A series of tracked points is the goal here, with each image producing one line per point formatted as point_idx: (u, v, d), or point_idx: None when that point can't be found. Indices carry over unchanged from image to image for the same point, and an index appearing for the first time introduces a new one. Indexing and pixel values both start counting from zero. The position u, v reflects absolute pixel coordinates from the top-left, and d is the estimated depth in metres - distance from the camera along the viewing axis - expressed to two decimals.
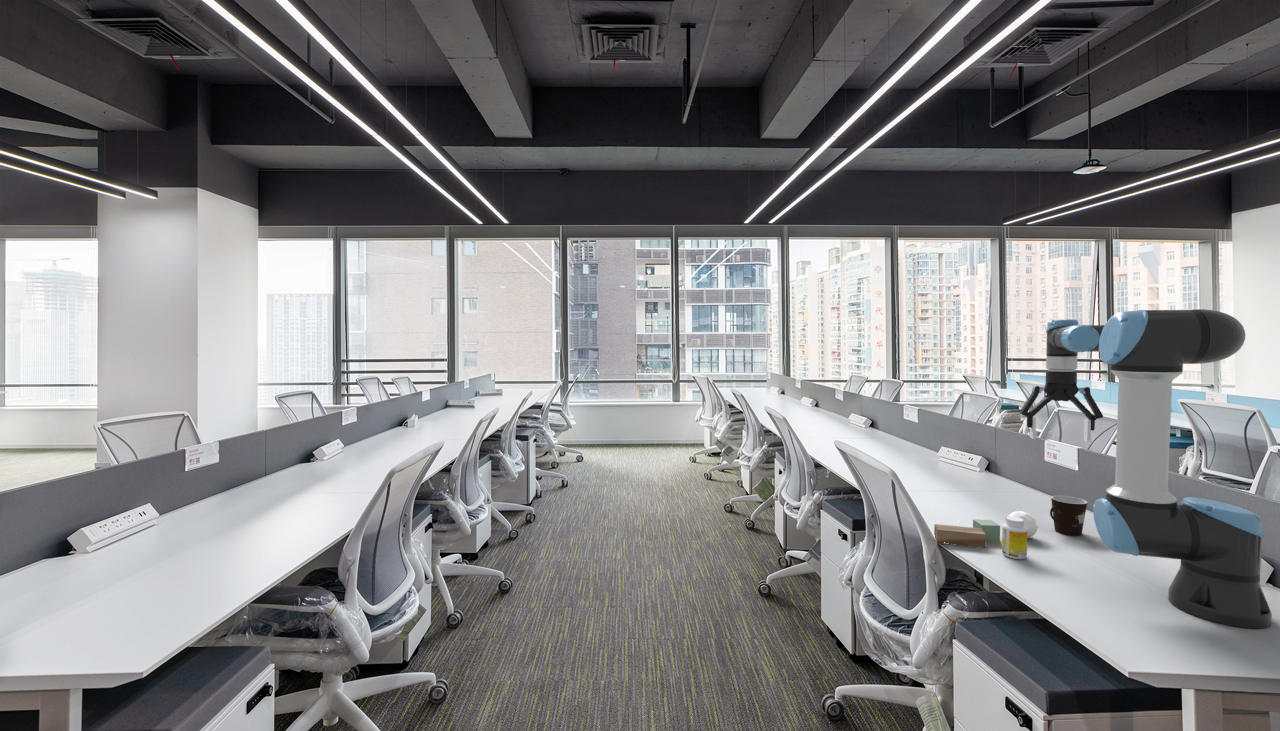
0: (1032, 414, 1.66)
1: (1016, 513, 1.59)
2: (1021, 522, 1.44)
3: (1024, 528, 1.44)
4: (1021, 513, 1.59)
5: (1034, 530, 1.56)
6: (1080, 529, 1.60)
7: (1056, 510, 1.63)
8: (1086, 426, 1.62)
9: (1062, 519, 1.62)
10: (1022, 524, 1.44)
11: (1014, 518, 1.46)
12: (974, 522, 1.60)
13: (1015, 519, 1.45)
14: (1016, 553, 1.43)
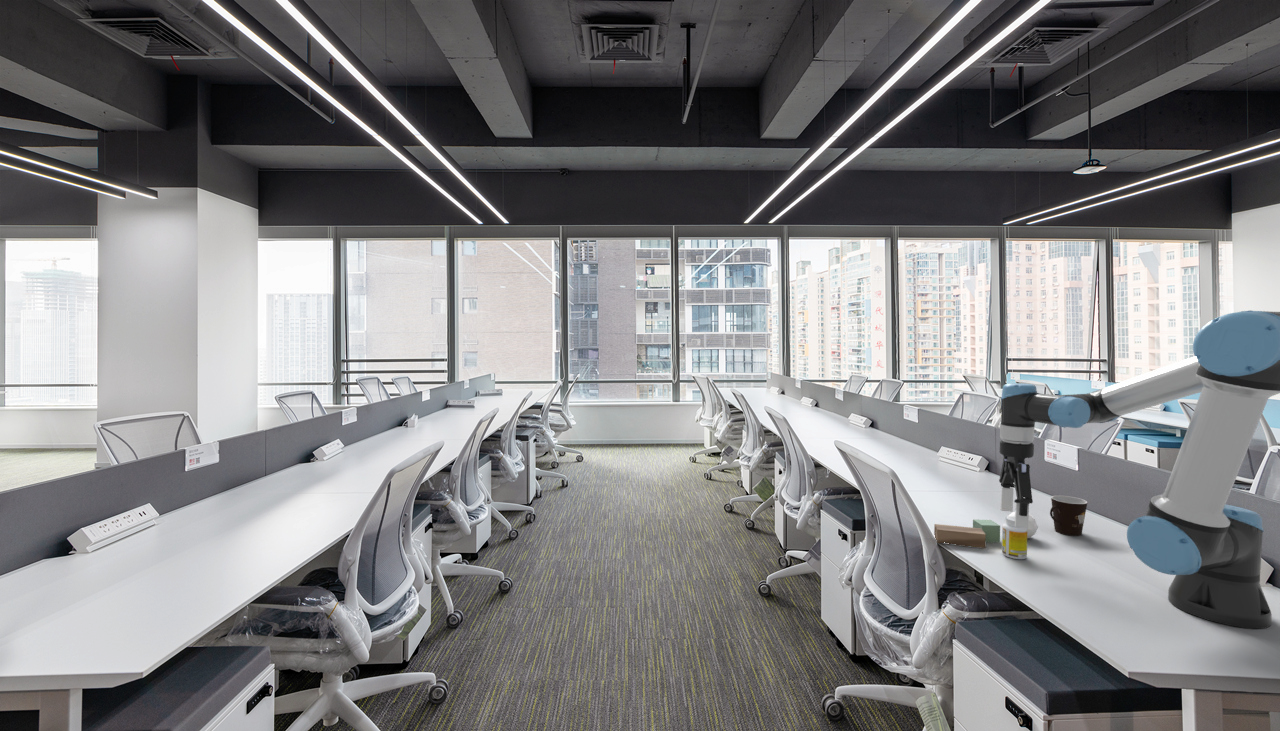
0: (1001, 483, 1.53)
1: None
2: None
3: (1024, 528, 1.44)
4: None
5: (1034, 530, 1.56)
6: (1080, 529, 1.60)
7: (1056, 510, 1.63)
8: None
9: (1062, 519, 1.62)
10: None
11: (1014, 518, 1.46)
12: (974, 522, 1.60)
13: None
14: (1016, 553, 1.43)
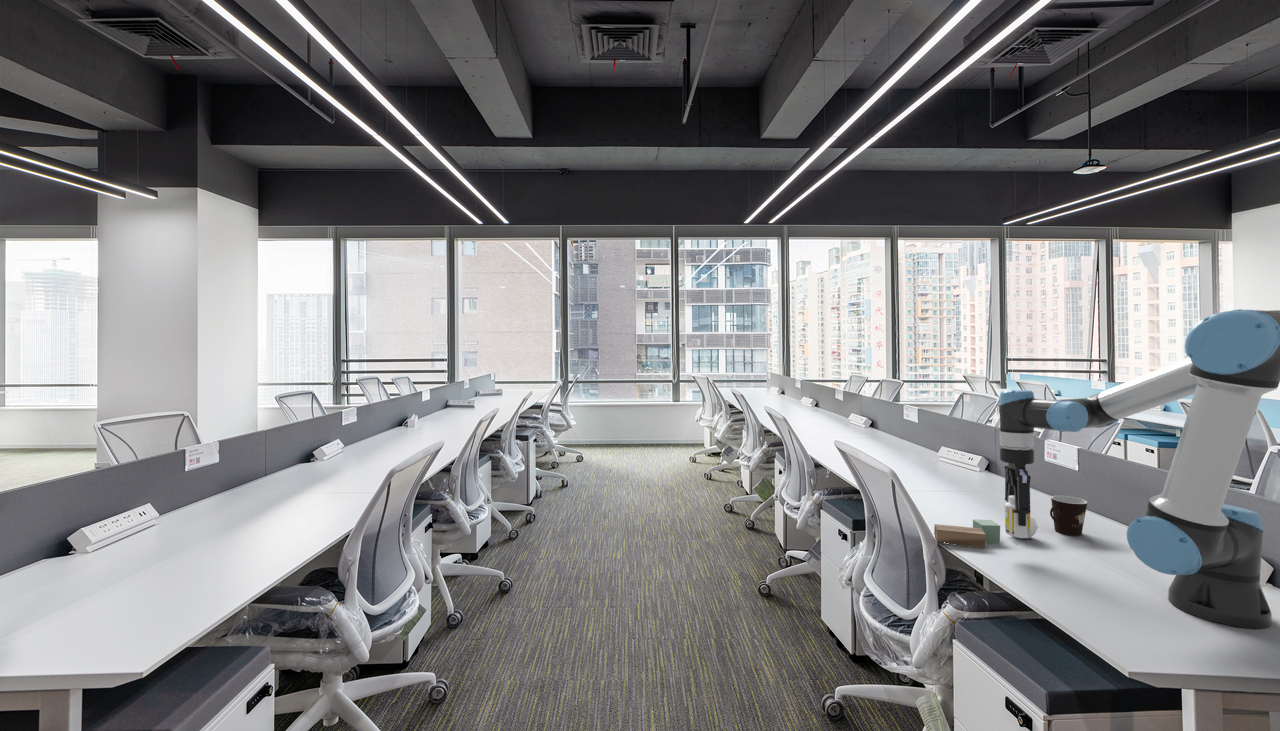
0: (1007, 500, 1.49)
1: None
2: None
3: None
4: None
5: (1034, 530, 1.56)
6: (1080, 529, 1.60)
7: (1056, 510, 1.63)
8: None
9: (1062, 519, 1.62)
10: None
11: None
12: (974, 522, 1.60)
13: None
14: None
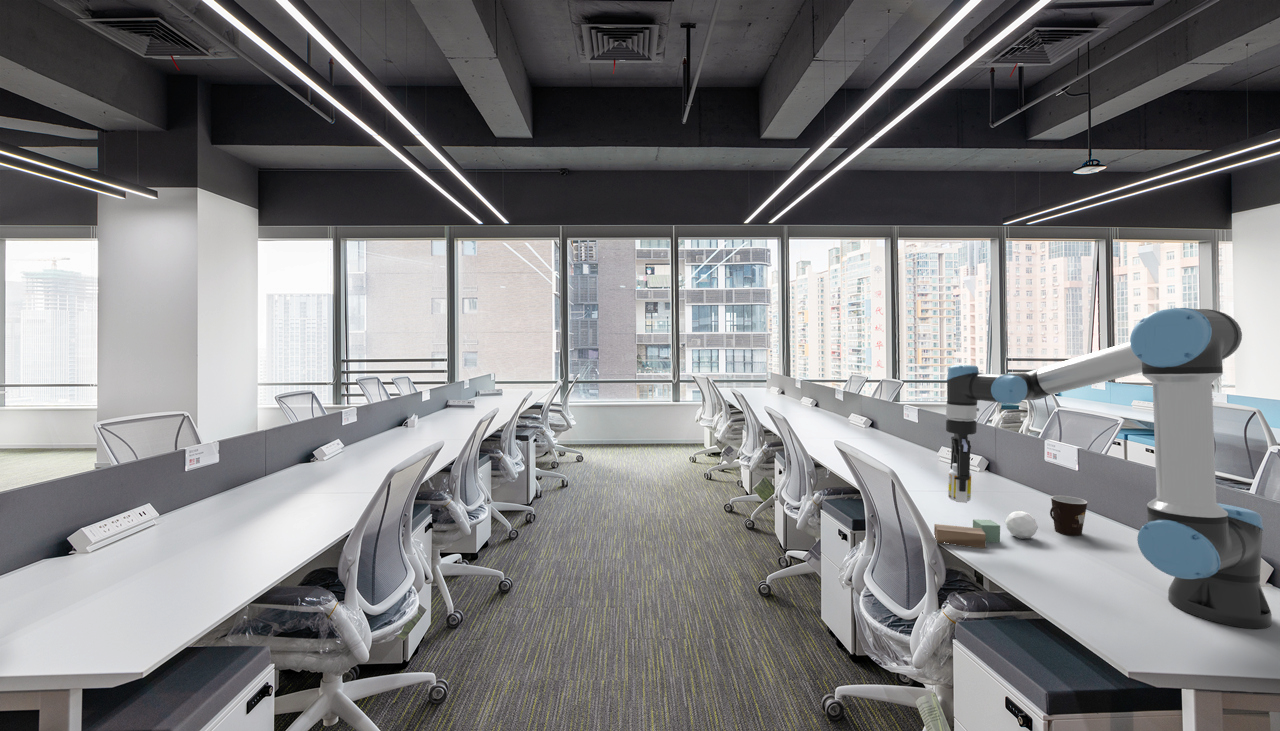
0: None
1: (1016, 513, 1.59)
2: None
3: None
4: (1021, 513, 1.59)
5: (1034, 530, 1.56)
6: (1080, 529, 1.60)
7: (1056, 510, 1.63)
8: None
9: (1062, 519, 1.62)
10: None
11: None
12: (974, 522, 1.60)
13: None
14: None
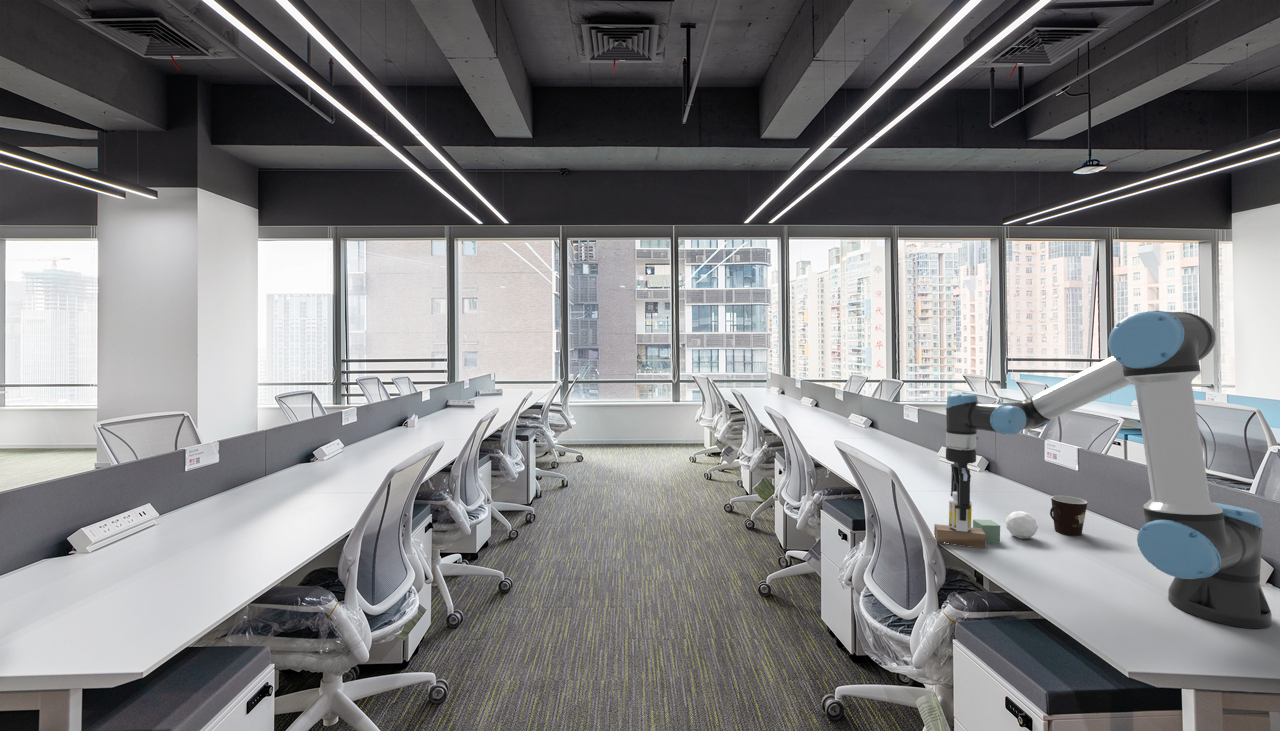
0: None
1: (1016, 513, 1.59)
2: None
3: None
4: (1021, 513, 1.59)
5: (1034, 530, 1.56)
6: (1080, 529, 1.60)
7: (1056, 510, 1.63)
8: None
9: (1062, 519, 1.62)
10: None
11: None
12: (974, 522, 1.60)
13: None
14: None
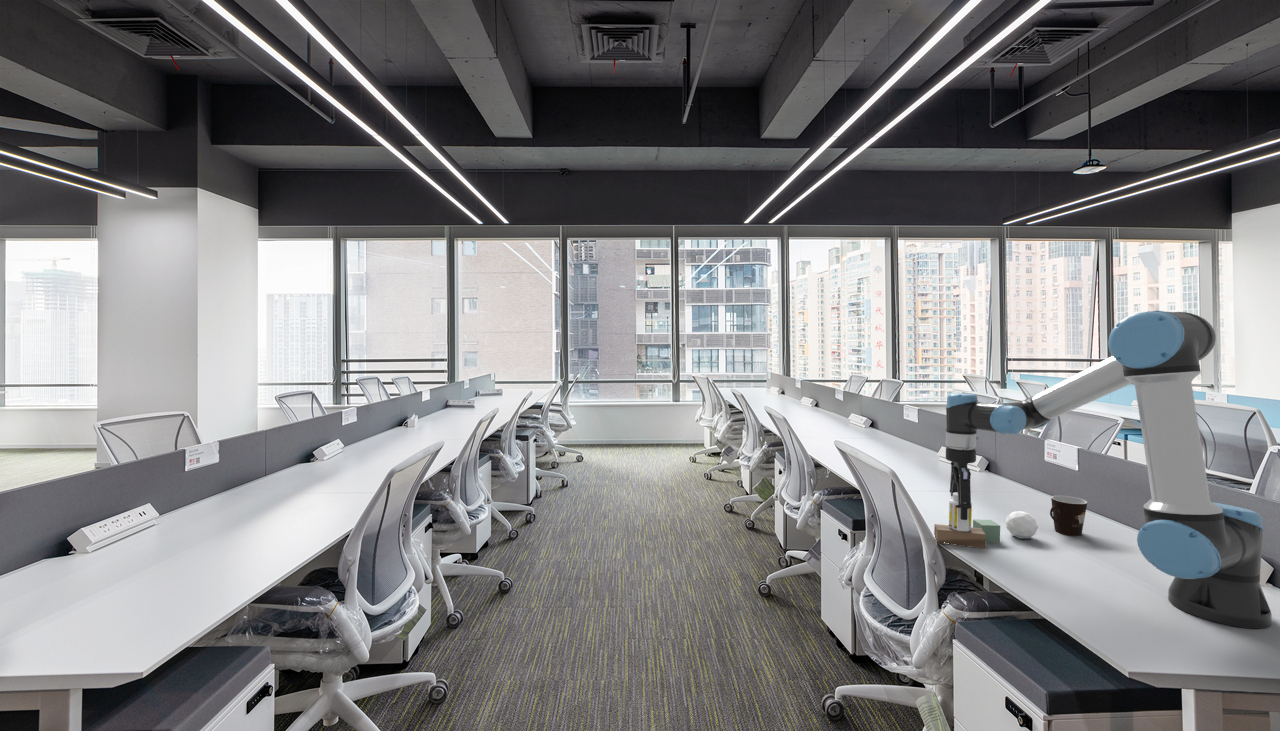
0: (951, 493, 1.61)
1: (1016, 513, 1.59)
2: None
3: None
4: (1021, 513, 1.59)
5: (1034, 530, 1.56)
6: (1080, 529, 1.60)
7: (1056, 510, 1.63)
8: None
9: (1062, 519, 1.62)
10: None
11: None
12: (974, 522, 1.60)
13: None
14: None
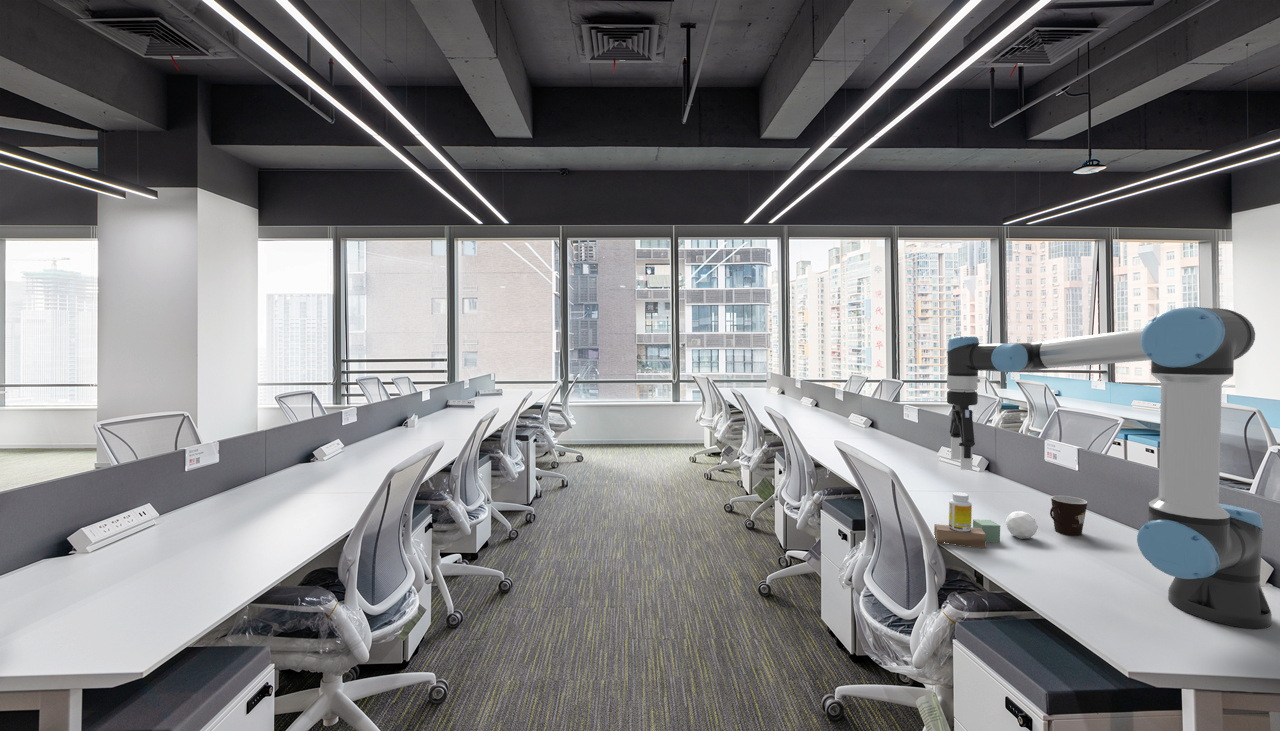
0: (951, 433, 1.62)
1: (1016, 513, 1.59)
2: (966, 497, 1.53)
3: (968, 502, 1.53)
4: (1021, 513, 1.59)
5: (1034, 530, 1.56)
6: (1080, 529, 1.60)
7: (1056, 510, 1.63)
8: None
9: (1062, 519, 1.62)
10: (966, 499, 1.53)
11: (960, 493, 1.55)
12: (974, 522, 1.60)
13: (960, 494, 1.55)
14: (961, 526, 1.53)
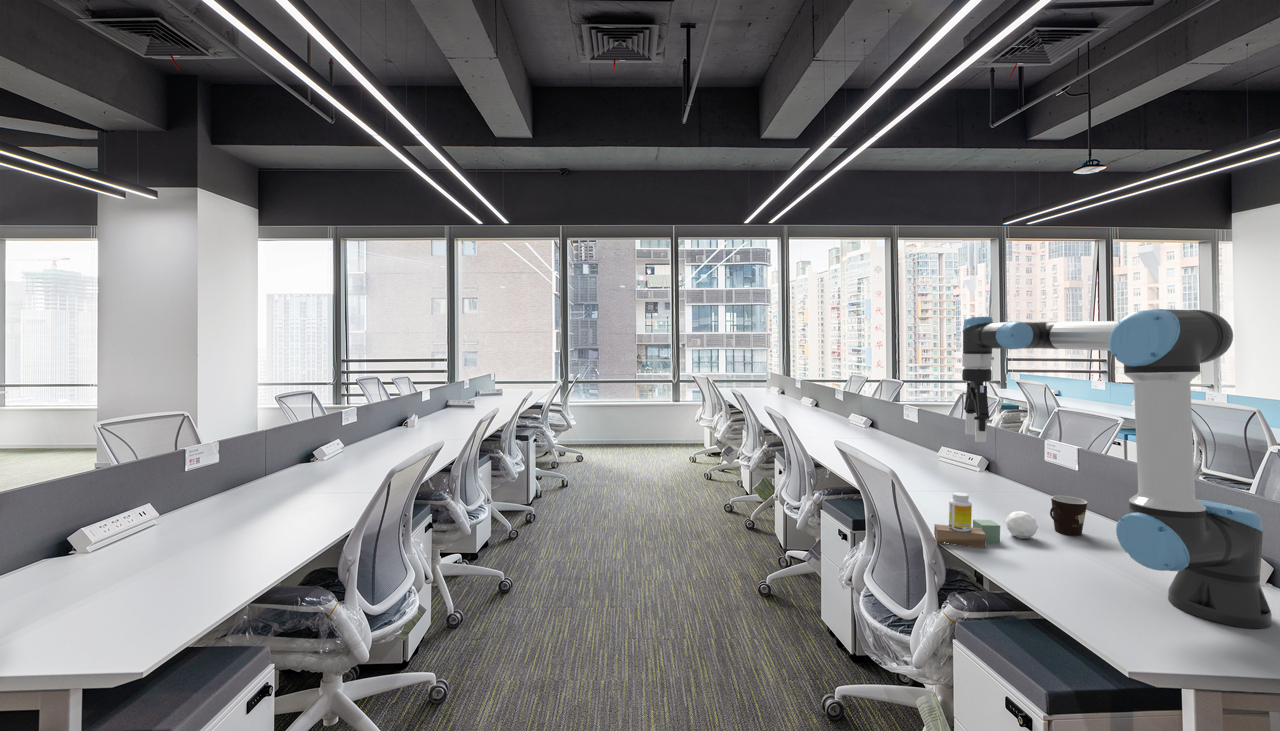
0: (966, 409, 1.71)
1: (1016, 513, 1.59)
2: (966, 497, 1.53)
3: (968, 502, 1.53)
4: (1021, 513, 1.59)
5: (1034, 530, 1.56)
6: (1080, 529, 1.60)
7: (1056, 510, 1.63)
8: None
9: (1062, 519, 1.62)
10: (966, 499, 1.53)
11: (960, 493, 1.55)
12: (974, 522, 1.60)
13: (960, 494, 1.55)
14: (961, 526, 1.53)
